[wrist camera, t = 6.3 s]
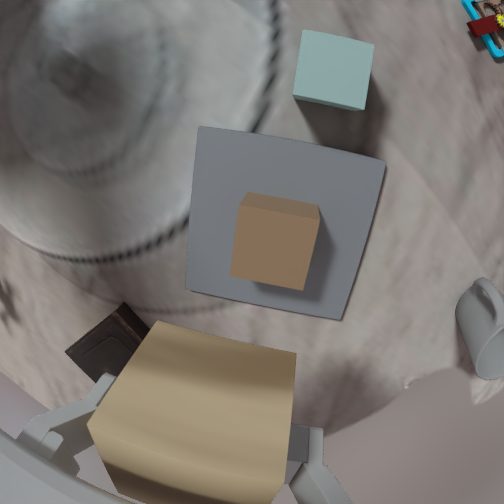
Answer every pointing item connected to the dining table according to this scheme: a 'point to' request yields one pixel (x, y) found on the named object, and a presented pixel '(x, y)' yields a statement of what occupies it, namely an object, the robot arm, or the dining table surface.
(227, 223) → the foundation
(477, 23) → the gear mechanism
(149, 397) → the oak cube
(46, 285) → the dining table surface
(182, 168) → the dining table surface
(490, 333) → the cup
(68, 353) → the hardcover book
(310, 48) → the teal cube
